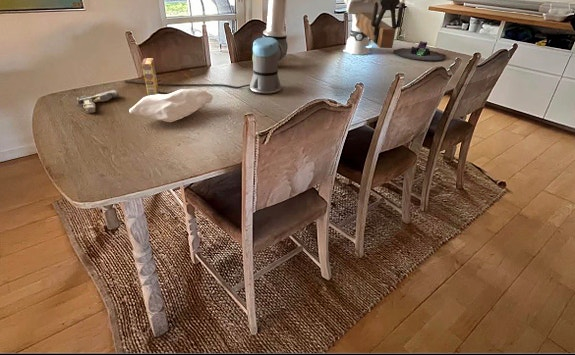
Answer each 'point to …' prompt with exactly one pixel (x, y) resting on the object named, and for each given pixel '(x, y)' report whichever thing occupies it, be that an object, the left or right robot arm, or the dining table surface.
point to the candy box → (150, 76)
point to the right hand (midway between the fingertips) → (363, 23)
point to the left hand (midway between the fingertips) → (382, 43)
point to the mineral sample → (419, 53)
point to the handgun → (95, 100)
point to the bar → (384, 33)
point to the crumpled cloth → (171, 104)
